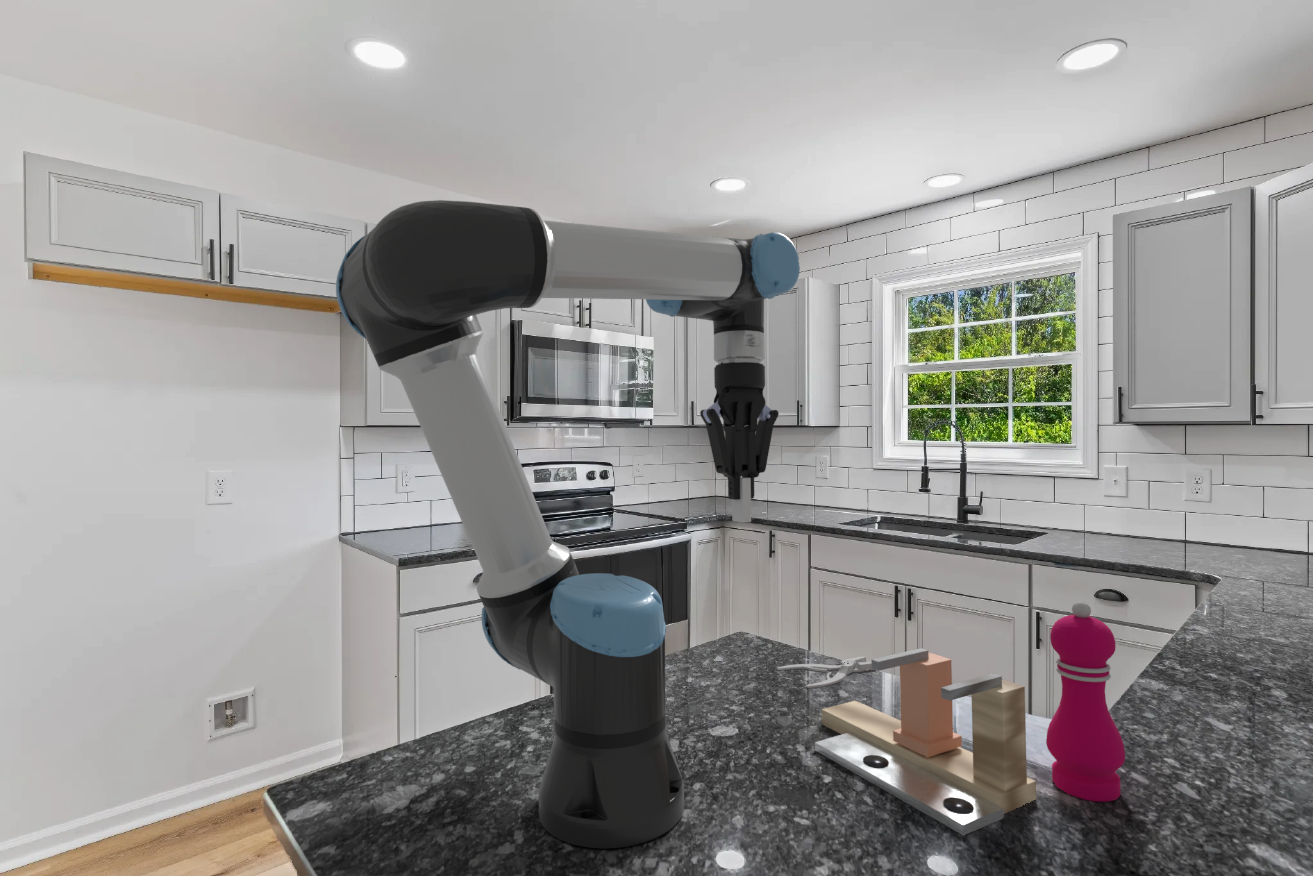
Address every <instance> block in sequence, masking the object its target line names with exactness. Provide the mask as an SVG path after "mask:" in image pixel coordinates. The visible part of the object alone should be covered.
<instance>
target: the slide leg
mask: <svg viewBox="0 0 1313 876" xmlns="http://www.w3.org/2000/svg"><path fill="white" fill-rule="evenodd" d="M871 662H872V669H875V670H874V671H878V672H879V671H883V670H887V669H893V668H896V667H899V691H900V695H899V696H900V721H901V728H900V729H897V730H894V731H893V741H895V742H897V743H899V744H901V745H903V746H905V747H907V748H909V749H911V750H913V751H915V752H917V753H920V754H922V755H924V756H926V757H931V756H934V755H937V754H940V753H943V752H946V751H949V750H952V749H955V748H958V747H961V748H962V741H963V739H962V735H961V734H958V733H956V732H954V722H953V721H954V720H953V719H954V718H953V700H951V701H949V700H947V699H944V698H941V687H945V686H949V685H952V684H953V680H952V679H953V677H952V676H953V673H952V659H951V658H947V657H945V656H941V655H939V654H935V653H932V652H929V649H925V648H922V647H920V648H916V649H912V650H907V651H903V652H898V653H893V654H890V655H886V656H880V657H876V658H871Z"/></svg>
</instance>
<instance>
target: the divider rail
mask: <svg viewBox="0 0 1313 876" xmlns="http://www.w3.org/2000/svg"><path fill="white" fill-rule="evenodd" d="M968 696H971V724H972V725H971V728H972V731H971V732H972V737H971V738H972V751H970V750H967V749H965V748H963V747H962V746H961V747H958V748H955V749H952V750H949V751H946V752H943V753H940V754H937V755H934V756H931V757H926V756H924V755H922V754H920V753H917V752H915V751H913V750H911V749H909V748H907V747H905V746H903V745H901V744H899V743H897V742H895V741H893V731H894V730H897V729H900V728H901V719H898V718H895V717H893V716H891V715H889V714H886V713H885V712H882V711H880V710H877V709H876V708H872V707H871V706H869V705H866V704H863V703H862V702H859V701H857V700H851V701H848V702H844V703H842V704H838V705H833V706H830V707H829V706H828V707H825V708H821V725H823V726H825V727H826V728H828V729H830V730H832V731H834V732H836V733H838V734H840V735H842V734H845V733H849V732H853V733H855V734H857V735H859V736H861V737H863V738H865V739H867V740H869V741H871V742H873V743H875V744H877V745H879V746H881V747H883V748H885V749H887V750H889V751H891V752H893V753H895V754H897V755H899V756H901V757H903V758H905V759H907V760H909V761H911V762H913V763H915V764H917V765H919V766H921V767H923V768H925V769H927V770H929V771H931V772H933V773H935V774H937V775H939V776H941V777H943V778H945V779H947V780H949V781H950V782H952V783H954V784H956V785H958V786H960V787H962V788H964V789H966V790H968V791H970V792H972V793H974V794H976V795H978V796H980V797H982V798H984V799H986V800H988V801H990V802H992V803H994V804H996V805H998V806H1000V807H1002V808H1004V815H1005V814H1007V813H1010V812H1011V811H1014V810H1017V809H1019V808H1021V807H1024V806H1025V804H1026V803H1029V804H1031V803H1032V802H1031V801H1033V800H1035V799H1036V800H1037V780H1034V779H1032V778H1030V777H1028V774H1027V773H1028V772H1027V771H1028V769H1027V764H1028V763H1027V736H1026V735H1027V730H1026V725H1027V724H1026V687H1025V685H1021V684H1018V683H1016V682H1012V681H1009V680H1005V679H1004V678H1003V676H1002V675H999V674H995V673H990V674H989V673H988V674H986V675H983V676H980V677H979V676H978V677H975V678H971V679H968V680H964V681H960V682H957V683H952V685H949V686H945V687H941V698H944V699H947V700H949V701H951V700H952V701H953V700H958V699H961V698H964V697H968ZM1030 802H1031V803H1030ZM1033 802H1034V801H1033ZM1023 805H1024V806H1023ZM1026 805H1027V804H1026ZM1016 808H1017V809H1016Z"/></svg>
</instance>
